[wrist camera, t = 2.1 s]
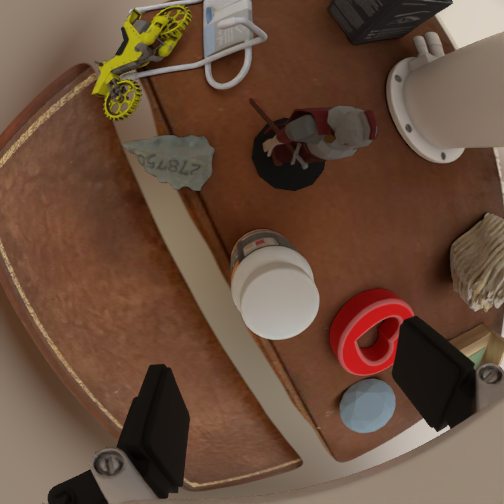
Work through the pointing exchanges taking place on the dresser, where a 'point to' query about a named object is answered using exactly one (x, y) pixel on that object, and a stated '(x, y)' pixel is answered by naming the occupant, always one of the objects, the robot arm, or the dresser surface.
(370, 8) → the box
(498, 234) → the fossil tooth
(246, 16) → the wall mount rack
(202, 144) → the stone tool
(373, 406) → the gemstone
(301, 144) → the figurine
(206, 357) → the dresser surface
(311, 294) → the pill bottle
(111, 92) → the toy motorcycle
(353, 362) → the decorative ornament
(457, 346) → the shelf
